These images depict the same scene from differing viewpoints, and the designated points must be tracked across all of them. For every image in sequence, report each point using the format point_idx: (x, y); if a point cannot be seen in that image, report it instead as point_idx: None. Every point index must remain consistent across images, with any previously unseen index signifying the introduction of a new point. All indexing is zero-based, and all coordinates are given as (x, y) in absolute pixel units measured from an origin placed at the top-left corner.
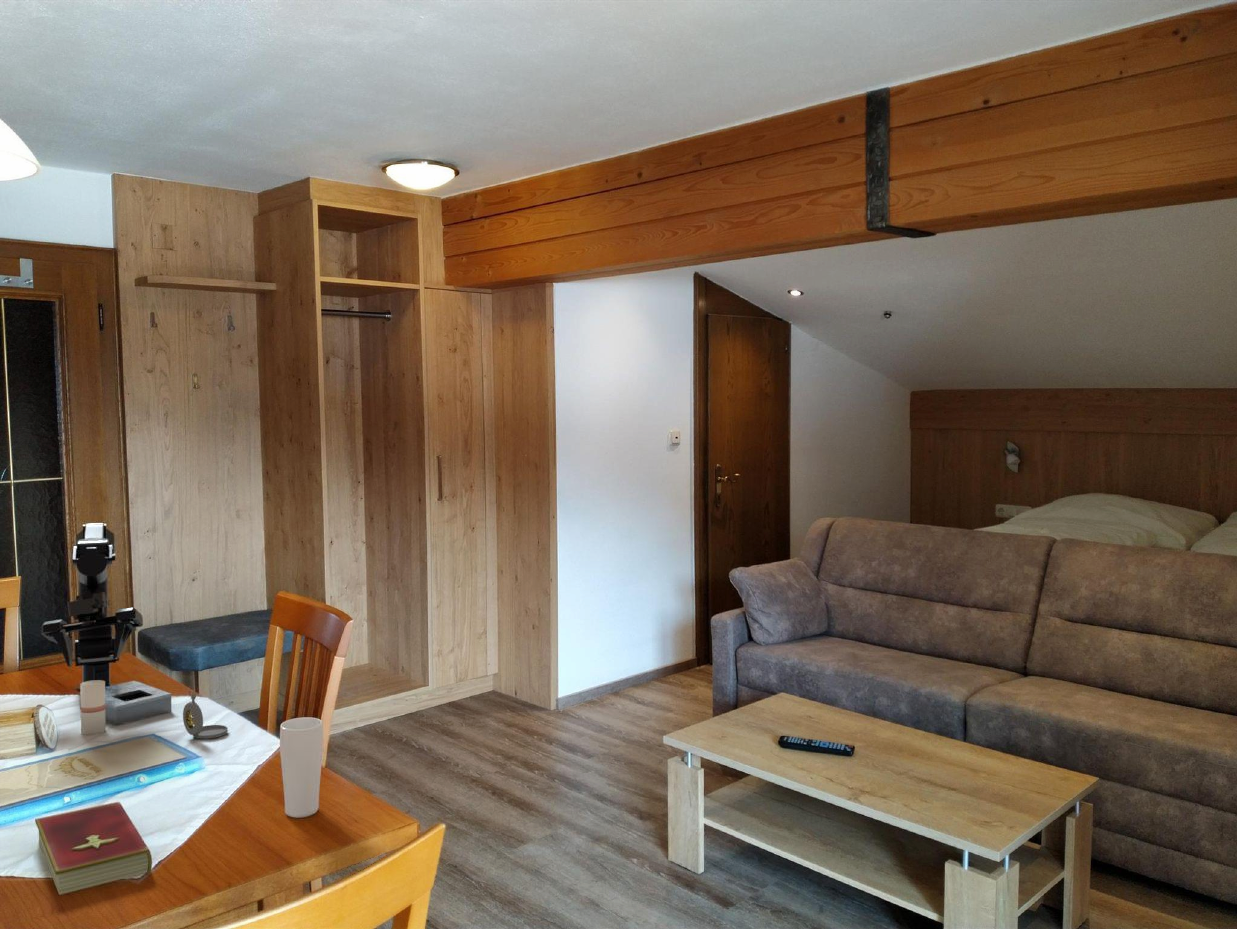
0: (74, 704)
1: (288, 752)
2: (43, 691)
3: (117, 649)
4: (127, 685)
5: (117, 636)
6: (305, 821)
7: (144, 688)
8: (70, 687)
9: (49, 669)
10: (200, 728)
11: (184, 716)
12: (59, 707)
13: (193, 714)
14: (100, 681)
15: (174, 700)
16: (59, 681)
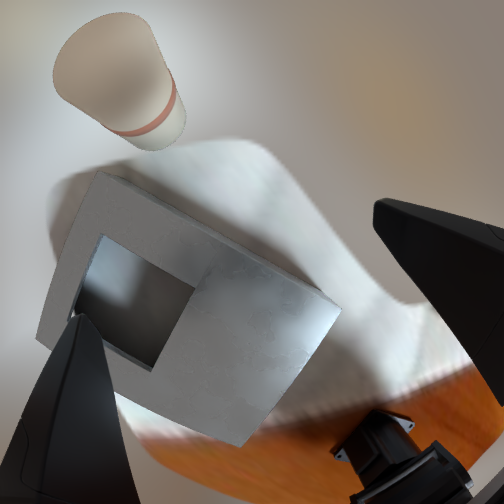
0: (366, 335)
1: None
2: (461, 384)
3: (49, 358)
4: (225, 407)
5: (23, 460)
6: None
7: (144, 385)
8: (426, 422)
9: (475, 457)
10: None
11: None
12: (389, 303)
13: None
14: (76, 86)
15: (121, 406)
16: (452, 434)
